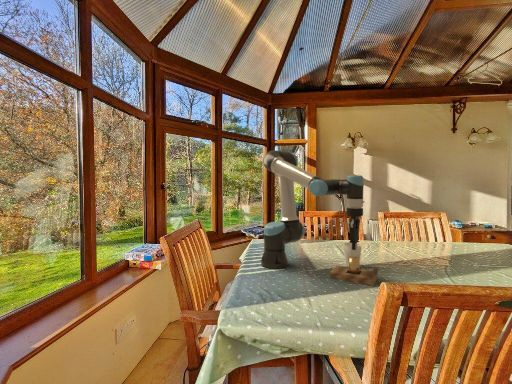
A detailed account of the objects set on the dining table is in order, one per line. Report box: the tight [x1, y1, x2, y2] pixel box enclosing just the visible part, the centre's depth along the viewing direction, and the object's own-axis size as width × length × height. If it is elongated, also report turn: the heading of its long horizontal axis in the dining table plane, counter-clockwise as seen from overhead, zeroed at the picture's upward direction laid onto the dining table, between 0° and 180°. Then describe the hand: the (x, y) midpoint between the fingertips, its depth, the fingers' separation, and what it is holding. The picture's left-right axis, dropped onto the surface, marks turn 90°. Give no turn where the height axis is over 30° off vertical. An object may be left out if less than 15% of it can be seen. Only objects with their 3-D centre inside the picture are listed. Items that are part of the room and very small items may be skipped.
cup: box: [343, 242, 362, 267], centre depth 159 cm, size 9×9×12 cm
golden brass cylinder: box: [349, 256, 361, 275], centre depth 140 cm, size 5×5×10 cm
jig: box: [329, 265, 379, 287], centre depth 140 cm, size 20×12×5 cm, turn 59°
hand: (354, 255), depth 139 cm, fingers closed
